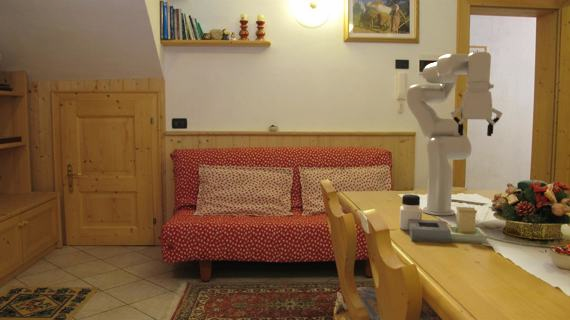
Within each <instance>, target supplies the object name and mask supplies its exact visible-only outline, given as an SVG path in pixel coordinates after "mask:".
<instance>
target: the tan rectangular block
mask: <svg viewBox="0 0 570 320" xmlns="http://www.w3.org/2000/svg"><path fill="white" fill-rule="evenodd" d="M455 208H456V220H455V221H456V223H455V226H456V233H457V234H475V227H476V216H477V215H476V214H477V210H476V209H475V208H474V207H469V206H467V207H465V206H456V207H455Z"/></svg>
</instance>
